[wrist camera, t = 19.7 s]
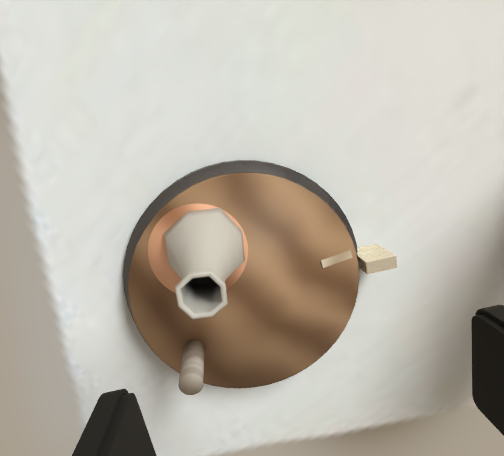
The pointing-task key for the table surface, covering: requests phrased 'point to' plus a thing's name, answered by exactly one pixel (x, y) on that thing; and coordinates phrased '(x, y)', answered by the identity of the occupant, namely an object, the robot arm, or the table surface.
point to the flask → (203, 259)
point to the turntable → (250, 285)
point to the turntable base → (367, 256)
